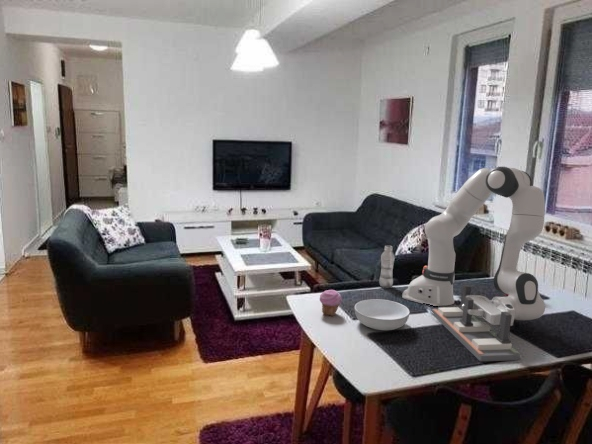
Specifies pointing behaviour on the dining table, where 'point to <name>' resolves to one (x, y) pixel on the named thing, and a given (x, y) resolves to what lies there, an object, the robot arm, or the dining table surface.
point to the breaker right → (504, 328)
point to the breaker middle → (466, 317)
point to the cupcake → (330, 302)
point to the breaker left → (464, 293)
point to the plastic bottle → (387, 267)
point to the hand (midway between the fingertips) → (465, 309)
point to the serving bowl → (381, 314)
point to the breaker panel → (476, 336)
